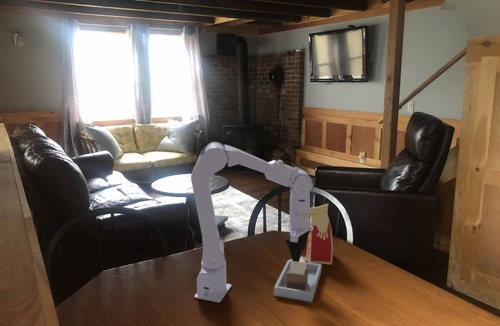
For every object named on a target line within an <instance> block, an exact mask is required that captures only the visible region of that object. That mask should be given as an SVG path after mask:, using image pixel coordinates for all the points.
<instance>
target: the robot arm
mask: <svg viewBox="0 0 500 326" xmlns="http://www.w3.org/2000/svg"><path fill="white" fill-rule="evenodd" d="M226 165H227V167H228V168H229V167H233V166H237V165H240V166H242V167H246V168H249V169H252V170H254V171H258V172H261V173H263V174H264V176H265V178H266V180H269V181H271V182H274V183H276V184H279V185H281V186H284V187H287V188H290V195H289V224H288V230H289V233H290V235H289V236H286V237H285V240H284V241H285V243H286V245H287V246H288V249H289V253H290V257H291V258H290V259H292V261H297V262H299V261H300V257H301V256H302V252H303V251H305V250H306V248H307V243H308V235H309V232H310V231H312V230H313V226H309V222H310V208H311V207H310V205H311V197H310V196H311V191H312V189H313V187H314V183H313V179H312V178H311V177H310V175H309V174H308V173H307V172H306V171H305V170H303V169H302V168H299V167H298V166H294V167H293V166H290V165H288V164H285V163H284V161H283V160H281V159H278V160H275V159H273V160H271V161H266V160H264V159H261V158H259V157H257V156H255V155H253V154H250V153H248V152H246V151H243V150H241V149H239V148H236V147H233V146H231V145H228V144H222V142H218V141H212V142H210V143H208V144H207V145H206V146H205V147H204V148H203V149H202V150H201V151H200V154H199V156H198V158H197V161H196V163H195V165H194V167H193V169H192V171H191V175H190V180H191V185H192V191H193V196H194V200H195V206H196V210H197V211H196V212H197V216H198V220H199V221H198V222H199V226H200V231H201V238H202V239H201V241H202V247H203V248H202V257H201V262H200V264H201V269H200V271H199V273H198V275H197V278H196V294H194V299H195V298H196V299H199V300H204V301H209V302H210V301H211V302H214V303H220V302H221V301H222V300H224V299H223V298H224V297H225V296H226V295H227V293H228V292H229V291H230V289H231V287H232V284H230V283H227V260H226V258H225V257H226V256H225V250H224V249H225V243H224V240H223V239H222V238H221V237H220V234H219V232H220V231H219V229H218V226H217V221H216V215H215V208H214V203H213V199H212V192H211V186H210V179H211V178H212V177H213V176H214V174H216V173H217V172H219V171H221V170H223V168H225V166H226Z"/></svg>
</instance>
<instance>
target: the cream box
mask: <svg viewBox="0 0 500 326" xmlns="http://www.w3.org/2000/svg"><path fill="white" fill-rule="evenodd" d="M290 260H291V261H290V273H294V274H300V275H304V273H305V270H306V262H307V259H306V255H305V256H304V255H301V257H300V261H299V262H297V261H292V258H290Z"/></svg>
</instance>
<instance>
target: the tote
mask: <svg viewBox="0 0 500 326" xmlns="http://www.w3.org/2000/svg"><path fill="white" fill-rule="evenodd" d="M290 261H291V259H288V260H287V261H286V263H285V265H284V267H283V269H282V271H281V272H280V275H279V277H278V278H277V281H276V283H275V285H274V286H273V297H279V298H285V299H290V300H295V301H301V302H306V303H313V300H314V297H315V294H316V290H317V288H318V285H319V281H320V278H321V275H322V269H323V268H322V266H323V264H320V263H309V262H308V261H306V268H307V269H308V284H307V287H306V289H305V291H303V290H297V289H291V288H287V271H288V269H289V267H290Z"/></svg>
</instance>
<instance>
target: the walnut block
mask: <svg viewBox="0 0 500 326" xmlns="http://www.w3.org/2000/svg"><path fill="white" fill-rule="evenodd" d="M307 284H308V269H307V268H306V270H305V273H304V275H300V274H294V273H290V267H289V269H288V271H287V288H291V289H297V290H303V291H305V289H306V287H307Z"/></svg>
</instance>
